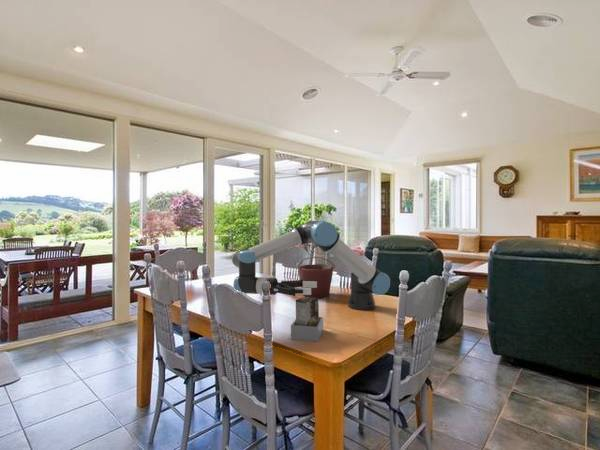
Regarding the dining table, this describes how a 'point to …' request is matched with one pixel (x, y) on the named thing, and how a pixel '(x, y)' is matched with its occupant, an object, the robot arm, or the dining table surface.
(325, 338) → the dining table surface
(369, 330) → the dining table surface
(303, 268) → the bucket
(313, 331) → the grey well
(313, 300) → the coffee box
